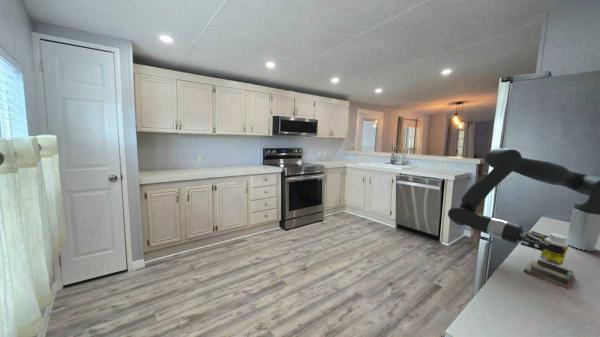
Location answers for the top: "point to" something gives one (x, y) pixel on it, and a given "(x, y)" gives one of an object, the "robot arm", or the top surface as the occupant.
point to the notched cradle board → (550, 273)
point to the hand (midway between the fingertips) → (565, 249)
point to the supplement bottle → (551, 256)
